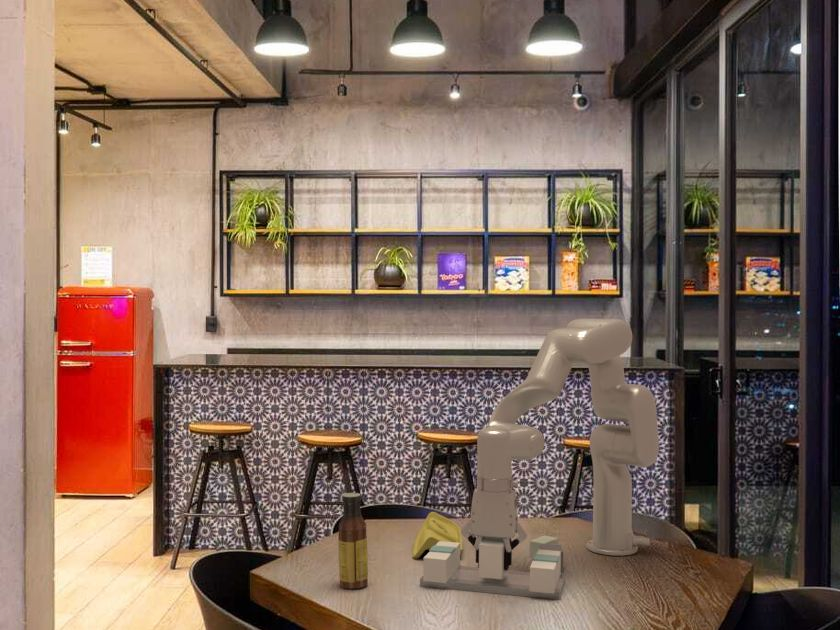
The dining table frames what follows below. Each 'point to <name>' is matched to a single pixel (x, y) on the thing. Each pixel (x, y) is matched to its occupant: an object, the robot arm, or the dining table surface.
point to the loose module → (491, 558)
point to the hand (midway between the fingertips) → (493, 566)
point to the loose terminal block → (541, 540)
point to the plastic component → (436, 533)
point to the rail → (494, 583)
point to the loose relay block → (553, 548)
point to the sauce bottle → (352, 544)
